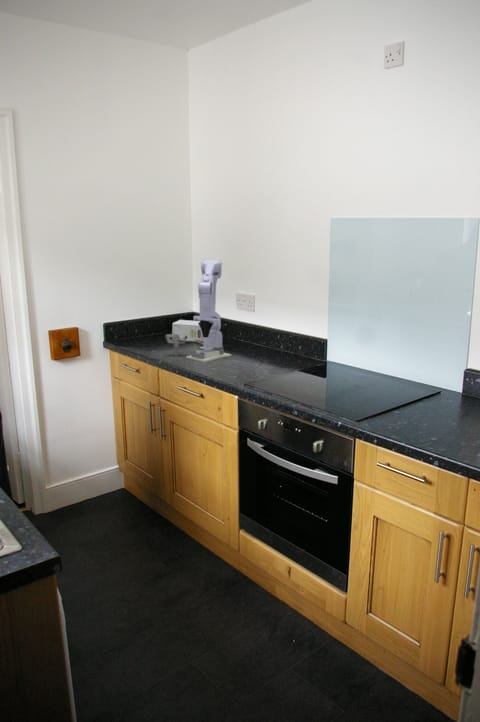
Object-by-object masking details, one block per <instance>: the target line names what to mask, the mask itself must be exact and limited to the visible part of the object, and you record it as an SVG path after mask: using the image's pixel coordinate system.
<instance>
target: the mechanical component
mask: <svg viewBox="0 0 480 722" xmlns="http://www.w3.org/2000/svg"><path fill="white" fill-rule="evenodd" d="M164 335H165V336H164V339H166V342H167V344H173V347H174V356H175V357H178V356H179V347H180V344H185V343H186V342H187V341H186V339H187V336H186V335H184V337H183V338H180V336H179V335H178V334H172V333H171V334H170V333H169V334H168V333H167V334H164ZM172 338H173V339H172ZM182 340H184V341H182Z"/></svg>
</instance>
